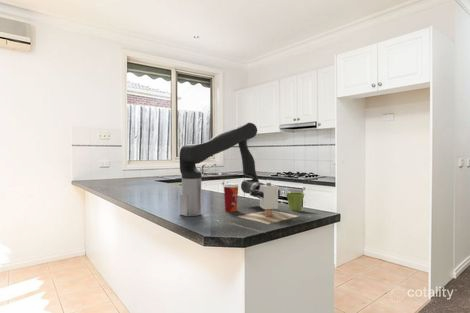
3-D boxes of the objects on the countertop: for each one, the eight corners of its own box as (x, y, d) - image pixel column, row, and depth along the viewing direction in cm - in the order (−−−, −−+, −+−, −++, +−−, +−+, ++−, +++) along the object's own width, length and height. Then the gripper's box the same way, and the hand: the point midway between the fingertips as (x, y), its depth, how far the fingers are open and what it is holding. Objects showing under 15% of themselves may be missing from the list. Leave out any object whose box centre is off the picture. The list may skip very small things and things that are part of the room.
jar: (268, 217, 126) (268, 208, 126) (263, 216, 129) (263, 207, 129) (273, 216, 128) (273, 207, 128) (268, 215, 131) (268, 206, 131)
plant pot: (297, 213, 139) (297, 195, 139) (282, 210, 146) (282, 193, 146) (308, 210, 145) (308, 193, 145) (293, 208, 152) (293, 191, 152)
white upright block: (264, 209, 125) (264, 183, 125) (259, 206, 131) (259, 182, 131) (278, 208, 126) (278, 183, 126) (273, 205, 132) (273, 181, 132)
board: (267, 225, 114) (267, 223, 114) (237, 218, 128) (237, 216, 128) (299, 217, 129) (299, 215, 129) (269, 211, 143) (269, 210, 143)
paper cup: (237, 213, 137) (237, 184, 137) (221, 213, 138) (221, 184, 138) (240, 210, 144) (240, 183, 144) (225, 210, 146) (225, 182, 146)
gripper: (245, 182, 141) (255, 187, 125) (273, 182, 144) (285, 186, 128) (245, 198, 141) (255, 204, 125) (272, 197, 144) (285, 202, 128)
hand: (270, 195), depth 126 cm, fingers closed on white upright block, 6 cm apart
